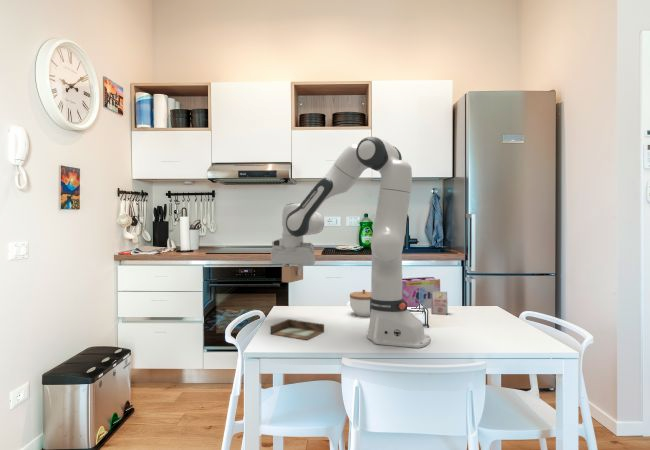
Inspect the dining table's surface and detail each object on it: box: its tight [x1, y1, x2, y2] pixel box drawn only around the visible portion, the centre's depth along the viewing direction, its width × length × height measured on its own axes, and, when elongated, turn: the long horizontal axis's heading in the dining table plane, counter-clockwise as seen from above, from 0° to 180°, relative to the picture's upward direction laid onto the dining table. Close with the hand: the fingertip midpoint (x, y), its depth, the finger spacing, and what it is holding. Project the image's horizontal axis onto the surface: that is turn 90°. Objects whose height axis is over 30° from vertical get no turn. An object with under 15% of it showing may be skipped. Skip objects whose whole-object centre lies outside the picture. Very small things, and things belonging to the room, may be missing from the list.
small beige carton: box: [430, 291, 449, 316], centre depth 184 cm, size 4×7×10 cm, turn 78°
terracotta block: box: [281, 264, 304, 283], centre depth 172 cm, size 4×10×6 cm, turn 151°
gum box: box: [402, 276, 441, 309], centre depth 198 cm, size 24×8×14 cm, turn 107°
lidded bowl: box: [349, 289, 371, 317], centre depth 182 cm, size 13×13×11 cm
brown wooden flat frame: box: [270, 319, 325, 341], centre depth 153 cm, size 16×12×3 cm
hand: (292, 275), depth 172 cm, fingers closed on terracotta block, 4 cm apart
